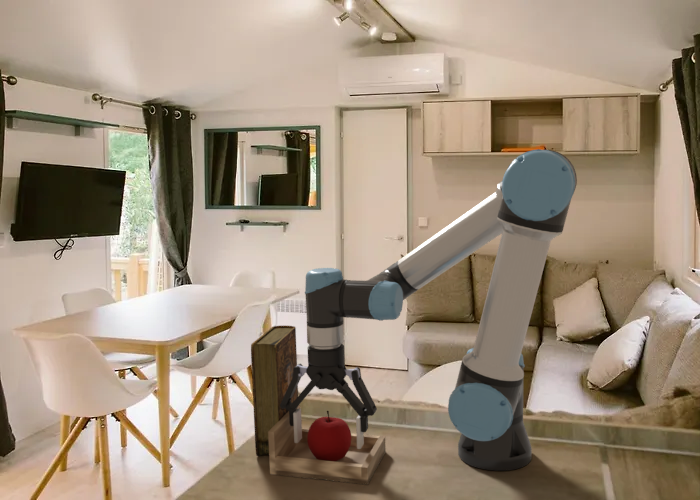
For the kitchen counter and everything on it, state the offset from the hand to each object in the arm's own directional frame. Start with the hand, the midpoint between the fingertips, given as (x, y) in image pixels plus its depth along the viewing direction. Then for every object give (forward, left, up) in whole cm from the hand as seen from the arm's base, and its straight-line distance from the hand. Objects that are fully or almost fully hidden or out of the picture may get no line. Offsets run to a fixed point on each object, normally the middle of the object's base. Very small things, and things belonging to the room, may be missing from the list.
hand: (329, 443), depth 145 cm
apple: (0, 0, -3) cm, 3 cm away
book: (+14, -7, -4) cm, 16 cm away
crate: (0, 0, -4) cm, 4 cm away
